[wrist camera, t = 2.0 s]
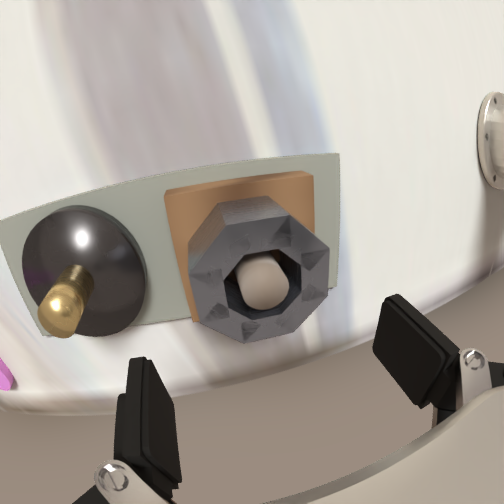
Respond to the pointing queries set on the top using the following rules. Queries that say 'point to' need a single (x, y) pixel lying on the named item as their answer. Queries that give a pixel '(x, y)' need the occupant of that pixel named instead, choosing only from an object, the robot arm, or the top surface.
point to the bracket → (5, 377)
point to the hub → (84, 272)
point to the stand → (251, 265)
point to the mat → (158, 231)
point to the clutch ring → (247, 242)
